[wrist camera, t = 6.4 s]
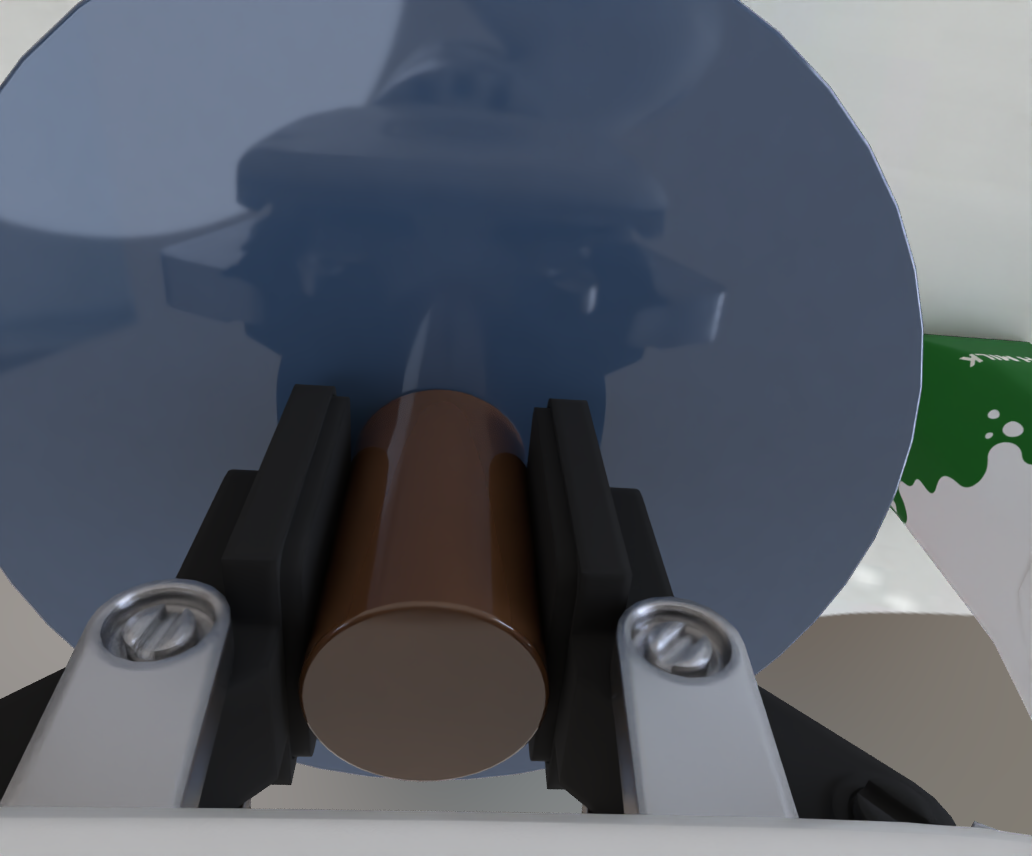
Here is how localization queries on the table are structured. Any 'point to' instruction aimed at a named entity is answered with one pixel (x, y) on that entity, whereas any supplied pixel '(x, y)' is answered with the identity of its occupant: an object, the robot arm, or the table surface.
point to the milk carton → (977, 485)
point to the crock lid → (446, 322)
